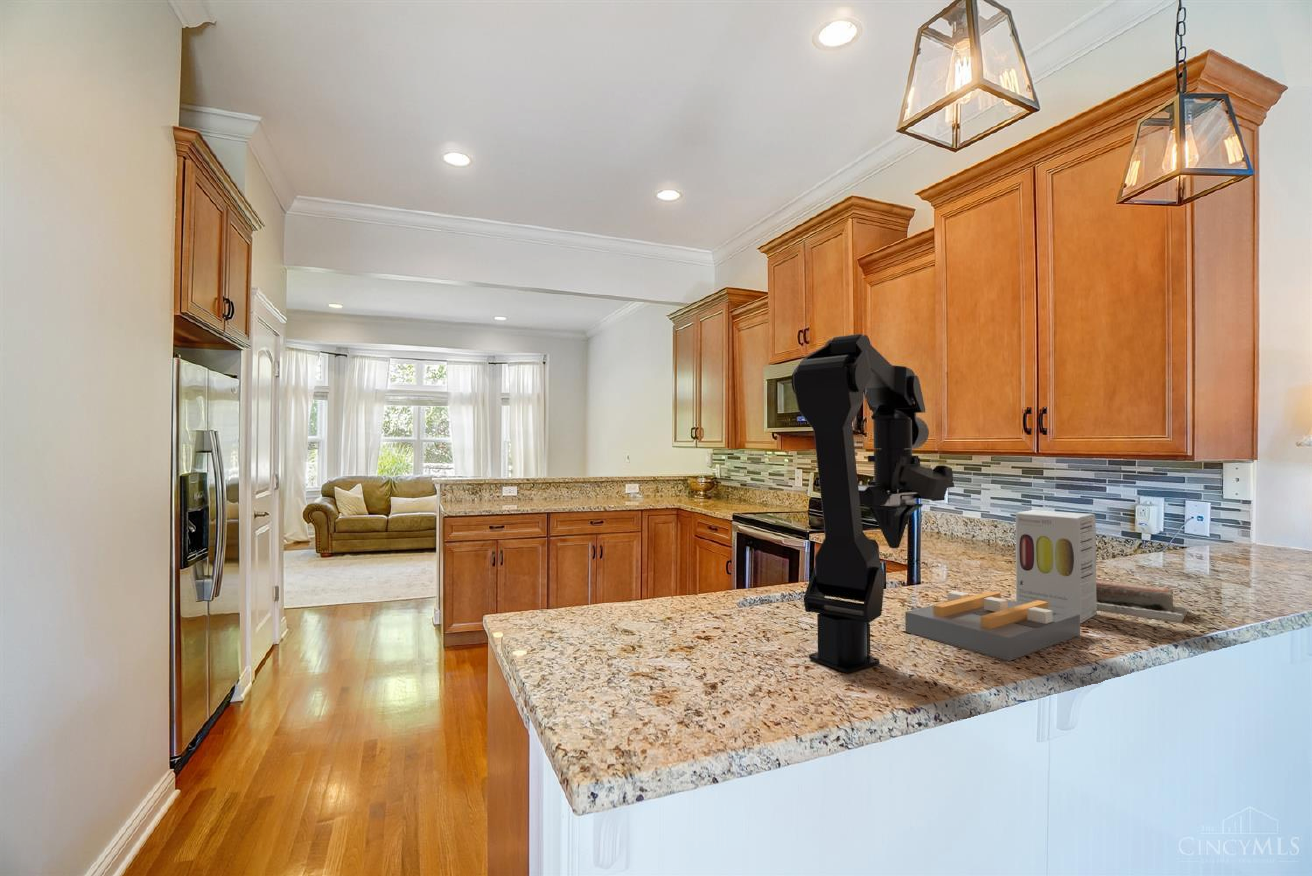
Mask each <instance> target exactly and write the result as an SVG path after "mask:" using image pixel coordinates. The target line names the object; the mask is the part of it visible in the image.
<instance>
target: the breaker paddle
mask: <svg viewBox="0 0 1312 876" xmlns="http://www.w3.org/2000/svg"><path fill="white" fill-rule="evenodd" d="M1007 600H1008V599H1004V598H1001V599H1000V598H995V597H988V598H984V609H985V610H990V611H995V612H998V611H1001V610H1005V609H1007Z"/></svg>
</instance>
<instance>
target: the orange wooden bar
mask: <svg viewBox="0 0 1312 876" xmlns="http://www.w3.org/2000/svg"><path fill="white" fill-rule="evenodd" d="M977 594H978V593H977ZM977 594H974V596H973V595H969V596H970V597H966V598H962V599H958V600H953V601H949V602H948V601H945V603H943V602H940V603H941V604H939V603H936V604H937V605H935V604H932V605H933V615H936V616H940V617H944V616H948V615H952V614H956V613H960V612H964V611H967V610H971V609H975V608H979V607H983V606H984V598H988V597H995V598H1000V599H1002V598H1001V597H1002V595H1001V592H998V591H987V592H982V593H979V594H978V595H977Z"/></svg>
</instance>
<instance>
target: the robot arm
mask: <svg viewBox="0 0 1312 876" xmlns="http://www.w3.org/2000/svg"><path fill="white" fill-rule="evenodd" d="M791 387H792V388H791V389H792V391H793V393H794V395H795V401H796V405H797V410H798V411H799V413H800V414H801V416H802V417H803V418H804V419H805V421H806V422H807V423H808V425H809V426H810V427H811V429H812V431H813V437H814V439H813V440H814V446H815V457H816V466H817V473H818V483H819V493H820V502H821V512H822V521H823V530H824V539H823V541H822V543H821V545H820V546H819V548H818V550H817V552H816V554H815V556H814V568H813V570H812V573H811V576H810V578H809V582H808V584H807V587H806V589H805V592H804V596H803V605H804V610H805V612H806V613H815V614H817V618H816V619H817V620H816V621H817V625H816V626H817V651H816V652H813V653H810V654H808V659H809V660H811V661H814V662H816V663H819V664H822V665H824V666H827V667H830V668H833V669H835V670H838V671H840V672H843V673H846V674H849V673H853V672H856V671H860V670H862V669H866V668H869V667H873V666H877V665H879V664H880V659H879V658H878V657H875V656H871V622H874V621H875V620H876V619H878V618H879V617H881V616H882V612H883V602H884V592H885V582H886V581H885V580H886V579H885V572H884V569H883V568H882V565H881V559H880V545H879V544H878V542H877V540H876V539H874V538H873V539H872V538H871V539H870V538H869V537H868V536H867V535H866V534H865V532H864V530H863V521H862V509H861V506H864V507H865V508H868V510H869V512H870V513H871V515H872V517H873V518H874V521H875V522H876V523H877V525H878V527H879V530H880V532H881V534H882V535H883V537H884V539H885V541H886V543H887V545H888V547H889V548H890V549H899V548H900V545H901V543H902V539H903V536H904V532H905V530H906V526H907V524H908V521H909V519H910V517H911V515H912V514H913V513H914V512H916V511H917V510H918V509H919V508H922V507H923V506H924V504H923V503H916V499H922V500H931V501H932V502H939V501H945V499H946V498H945V496H946V493H947V491H948V489H949V488H950V489H951V488H954V486H955V483H954V482H953V481H954V475H953V468H952V467H951V466H947V465H944V464H941V465H939V464H938V465H936V466H935V467H934V468H931V467H925V466H922V465H921V458H920V457H919V455H913V450H915V449H918V448H920V447H923V445H925V443H927V440H928V438H929V434H930V431H929V427H928V425H927V423H926V422H925V421H924V420H923V419H922V418H920V417H917V414H920V413H921V414H922V413H925V414H926V406H925V401H924V396H923V392H922V386H921V383H920V378H919V376H918V375H916V374H915V372H914V370H912V369H911V368H909V367H907V366H906V365H905V366H904V365H893V364H891V363H890V362H889V361H888V360H887V359H886V358H885V357H884V356H883V355H882V354H881V353H880V352H879V351H878V350H877V349H876V348H874V346H873V345H872V344H871V340H870V338H869V336H868V335H867V334H862V333H856V334H849V335H842V336H841V335H840V336H834V337H833V338H831V339H829V340H827V342H826V343H825V345H824V346H822V347H820V348H819V349H818V348H817V350H815V351H813V352H812V353H810V354H808V355H806V356H805V357H803V359H802V360H800V363H799V364H797V366H796V367H795V368H794V369H793V372H792V374H791ZM864 398H865V401H866V404H867V407H868V409H869V411H871V412H872V414H871V419H872V426H873V428H872V429H873V435H872V436H873V438H872V439H873V455H867V462H868V463H873V480H869V481H867V482H868V483H867V484H859V480H858V471H857V469H858V468H857V460H856V451H855V450H856V449H855V439H854V430H853V427H854V426H853V423H854V420H855V418H856V417H857V415H858V413H859V411H860V409H861V408H862V405H863V403H864ZM828 597H829V598H828ZM841 599H842V600H841ZM843 599H844V600H843ZM848 600H849V601H848ZM854 601H857V602H854ZM861 602H862V603H861Z"/></svg>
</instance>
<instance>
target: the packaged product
mask: <svg viewBox="0 0 1312 876" xmlns="http://www.w3.org/2000/svg"><path fill="white" fill-rule="evenodd" d="M1173 594H1174V592H1173V590H1172V589H1170V588H1164V587H1155V586H1151V585H1150V586H1149V585H1144V584H1143V585H1141V584H1136V583H1135V584H1134V583H1132V582H1131V583H1128V582H1127V583H1126V582H1123V581H1122V582H1121V581H1113V580H1105V579H1097V578H1096V600H1097V611H1099V610H1100V612H1106V613H1113V614H1120V615H1125V616H1126V615H1127V616H1131V615H1132V617H1138V616H1139V617H1138V618H1145V617H1146V618H1147V619H1153V620H1161V621H1167V622H1174V623H1179V624H1180V623H1181V624H1182V623H1183V621H1184V619H1185V617H1186V616H1187V614H1188V606H1186V605H1175V604H1174V596H1173Z"/></svg>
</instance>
